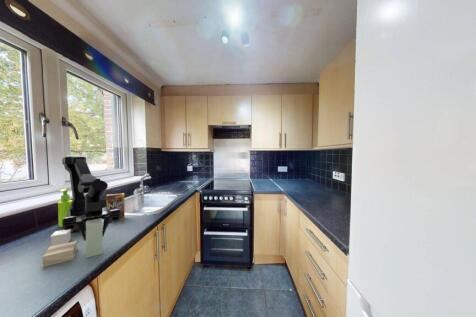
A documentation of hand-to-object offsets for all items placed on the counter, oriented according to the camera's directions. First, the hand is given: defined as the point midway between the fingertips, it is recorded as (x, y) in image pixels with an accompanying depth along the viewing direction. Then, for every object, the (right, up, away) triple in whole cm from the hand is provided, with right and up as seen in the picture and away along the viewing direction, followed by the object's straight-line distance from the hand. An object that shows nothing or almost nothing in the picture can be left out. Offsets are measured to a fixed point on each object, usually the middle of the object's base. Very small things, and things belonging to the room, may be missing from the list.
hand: (94, 238), depth 71 cm
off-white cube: (-21, -6, +8) cm, 24 cm away
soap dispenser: (-37, -5, +27) cm, 46 cm away
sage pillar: (-1, -7, +1) cm, 7 cm away
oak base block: (-11, -7, -2) cm, 13 cm away
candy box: (-16, -5, +36) cm, 40 cm away
